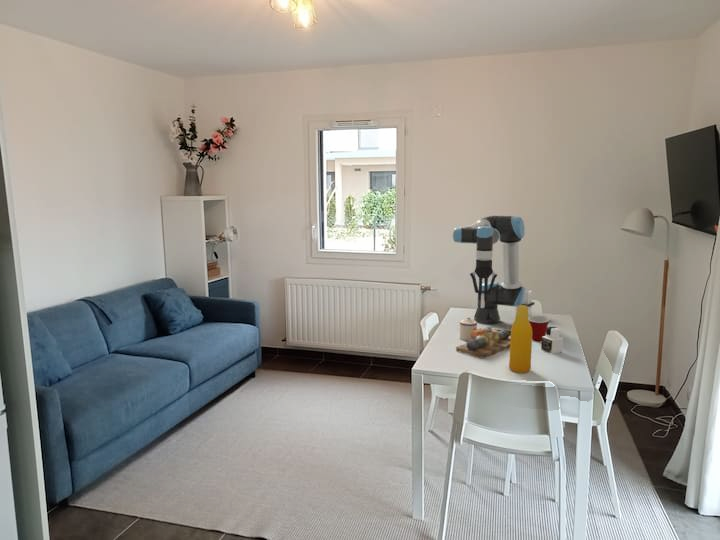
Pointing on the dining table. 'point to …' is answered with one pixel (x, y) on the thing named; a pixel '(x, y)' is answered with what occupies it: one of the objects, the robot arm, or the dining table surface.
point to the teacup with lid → (467, 329)
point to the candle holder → (527, 302)
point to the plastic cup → (538, 327)
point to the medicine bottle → (552, 341)
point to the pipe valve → (487, 344)
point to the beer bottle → (521, 342)
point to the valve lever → (481, 331)
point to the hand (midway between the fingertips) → (482, 307)
